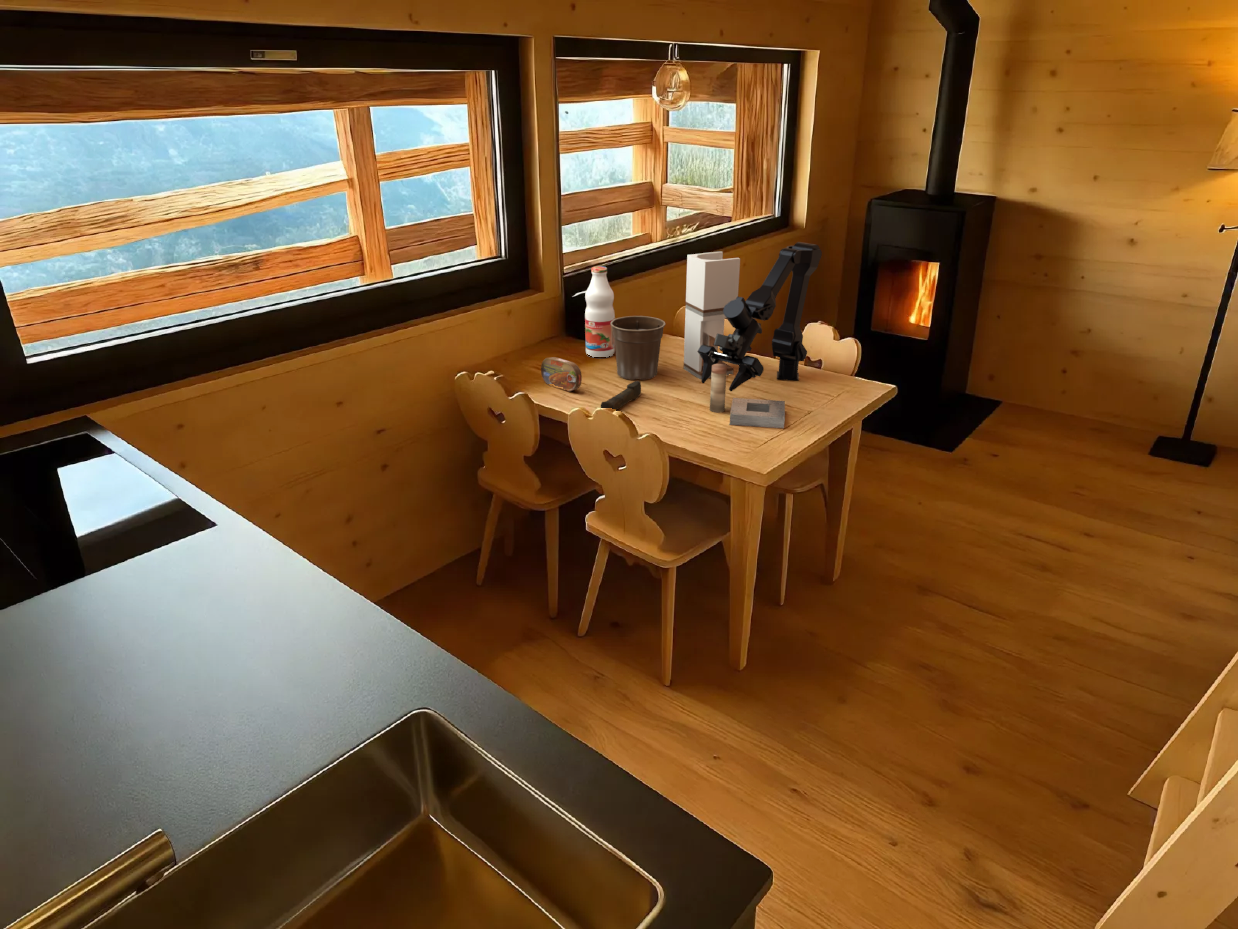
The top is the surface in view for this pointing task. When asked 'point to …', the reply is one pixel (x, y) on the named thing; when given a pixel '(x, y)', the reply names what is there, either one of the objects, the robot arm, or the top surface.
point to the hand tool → (624, 396)
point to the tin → (561, 373)
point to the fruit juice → (599, 315)
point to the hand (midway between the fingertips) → (715, 386)
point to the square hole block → (757, 413)
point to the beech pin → (718, 388)
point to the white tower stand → (707, 304)
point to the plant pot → (637, 346)
